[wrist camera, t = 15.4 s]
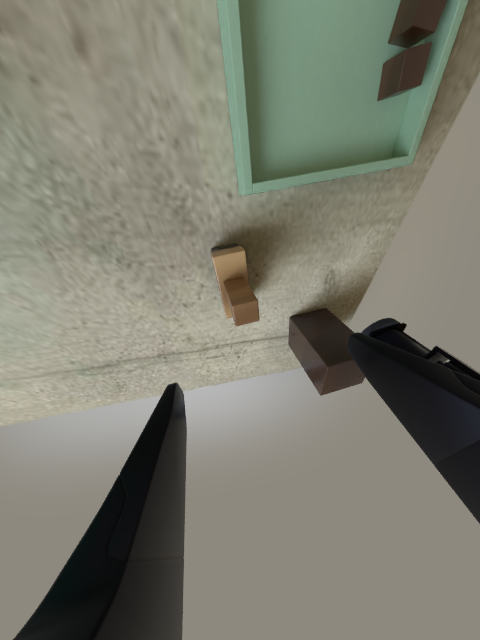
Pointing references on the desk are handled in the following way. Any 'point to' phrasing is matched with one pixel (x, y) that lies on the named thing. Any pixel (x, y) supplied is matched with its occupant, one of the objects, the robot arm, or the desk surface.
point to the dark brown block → (324, 350)
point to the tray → (322, 88)
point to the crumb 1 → (415, 21)
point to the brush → (235, 284)
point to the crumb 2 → (404, 71)
